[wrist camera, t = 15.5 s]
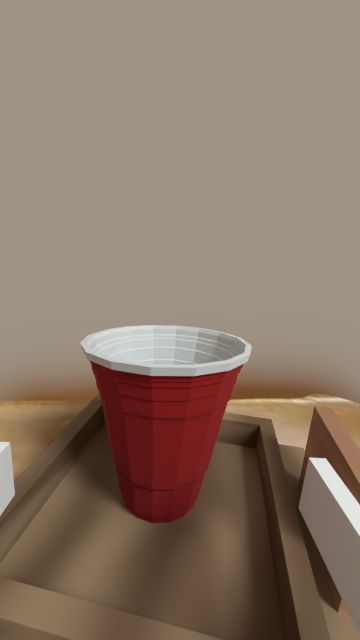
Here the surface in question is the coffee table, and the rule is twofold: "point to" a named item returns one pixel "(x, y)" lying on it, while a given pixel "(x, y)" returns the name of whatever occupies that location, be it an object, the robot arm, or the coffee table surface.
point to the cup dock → (173, 543)
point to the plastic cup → (163, 409)
